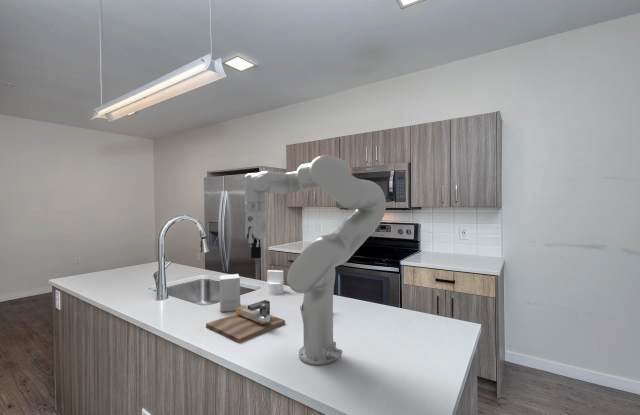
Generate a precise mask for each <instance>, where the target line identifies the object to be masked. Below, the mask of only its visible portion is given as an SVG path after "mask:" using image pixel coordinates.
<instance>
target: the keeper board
mask: <svg viewBox="0 0 640 415" xmlns="http://www.w3.org/2000/svg"><path fill="white" fill-rule="evenodd" d="M270 302H271V301H270V300H267V299H264V300H261V301H258V302H255V303H251V304H248V305H247V308H248V310H251V311H254V310H255V311H258V312H261V313H262V308H261V307H260V305H261V304H263V303H268V304H269V307H267V314H269V315H270V323H269V324H266V325H261V324H259V322H256V321H254V320H251V319H249V318H246V317H244V316H241V315H238V314H236V313H233V314H231V315H227V316H224V317H222V318H218V319H215V320H212V321H210V322H206V323H205V327H206V328H207V329H208V330H211V331H213V332H215V333H217V334H219V335H221V336H224V337H225V338H228V339H230V340H232V341H233V342H235V343H238V344H241V343H244V342H246V341H248V340H250V339H252V338H255V337H257V336H260V335H262V334H265V333H266V332H269V331H271V330H273V329H276V328H279V327H281V326H283V325H285V324H286V320H285V319H283V318H279V317H277V316H275V315H271V305H270V304H271V303H270ZM258 309H259V310H258Z"/></svg>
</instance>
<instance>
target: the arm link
mask: <svg viewBox="0 0 640 415" xmlns="http://www.w3.org/2000/svg"><path fill="white" fill-rule="evenodd" d="M260 307H261V308H262V313H261V312H258V311H259V310H257V311H255V310H254V311H251V310H248V306H244V305H240V307H237V308H236V310H235V314H238V315H241V316H244V317H246V318H249V319H251V320H254V321H256V322H259V324H261V325H266V324H269V323H270V315H271V314H270V315H269V314H267V307H269V304H268V303H263V304H261V305H260Z"/></svg>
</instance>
